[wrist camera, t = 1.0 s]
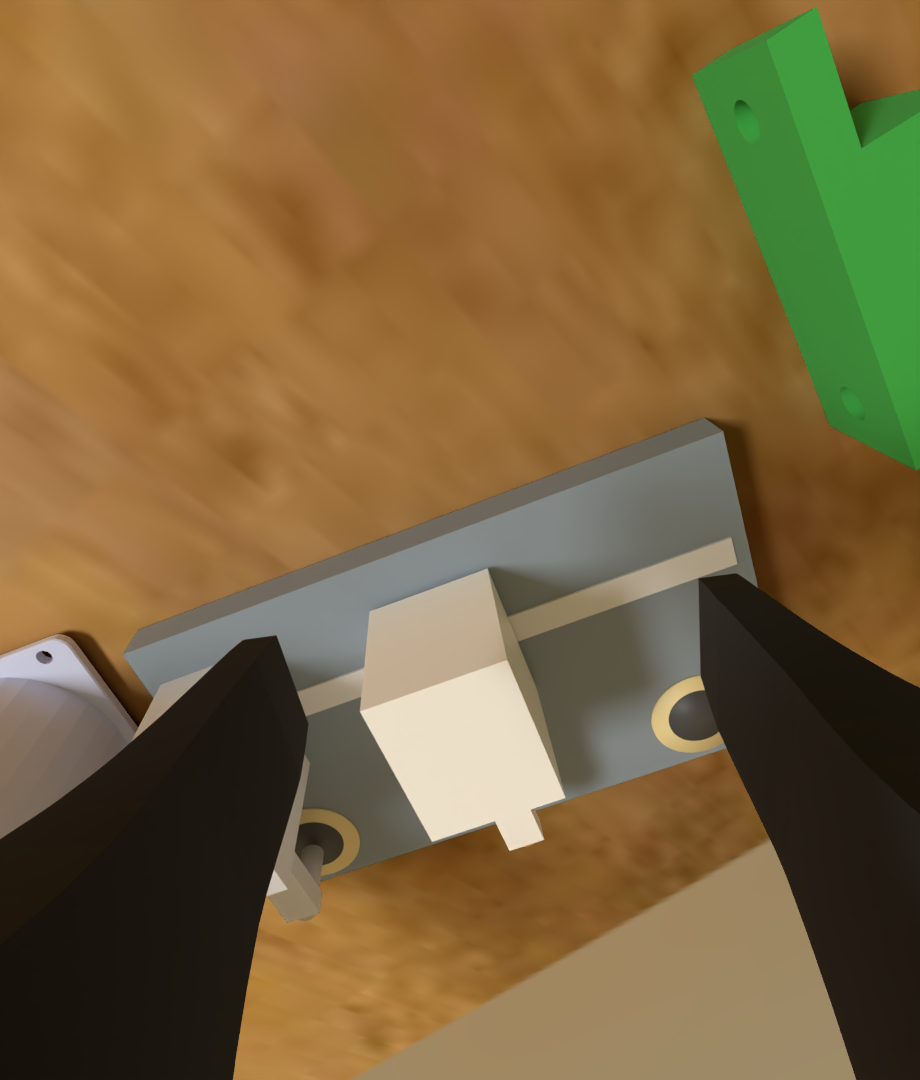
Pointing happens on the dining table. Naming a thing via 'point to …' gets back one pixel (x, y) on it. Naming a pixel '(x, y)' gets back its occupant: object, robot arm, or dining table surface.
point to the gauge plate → (536, 619)
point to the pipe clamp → (831, 221)
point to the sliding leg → (459, 712)
